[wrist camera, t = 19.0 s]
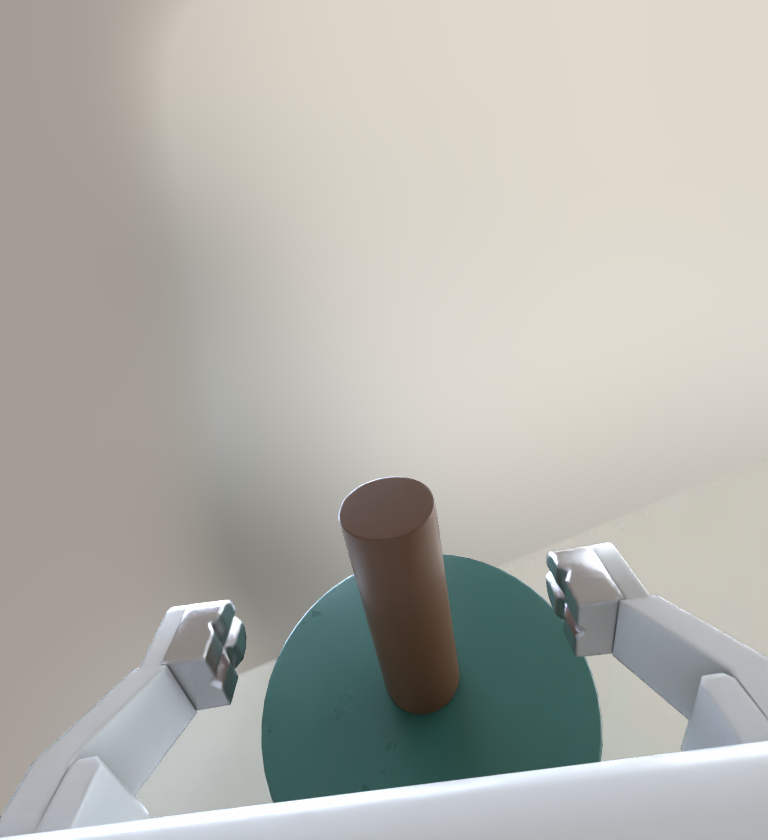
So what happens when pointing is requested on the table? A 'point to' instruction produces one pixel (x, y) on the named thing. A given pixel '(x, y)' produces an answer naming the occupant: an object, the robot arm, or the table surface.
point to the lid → (421, 667)
